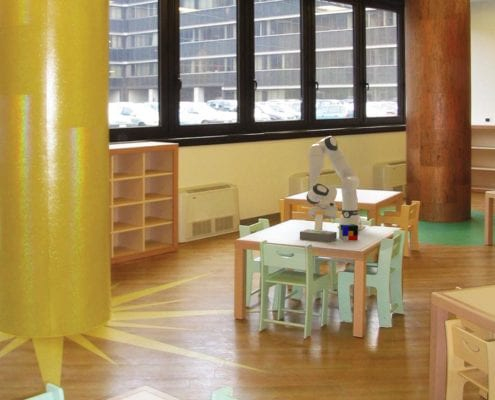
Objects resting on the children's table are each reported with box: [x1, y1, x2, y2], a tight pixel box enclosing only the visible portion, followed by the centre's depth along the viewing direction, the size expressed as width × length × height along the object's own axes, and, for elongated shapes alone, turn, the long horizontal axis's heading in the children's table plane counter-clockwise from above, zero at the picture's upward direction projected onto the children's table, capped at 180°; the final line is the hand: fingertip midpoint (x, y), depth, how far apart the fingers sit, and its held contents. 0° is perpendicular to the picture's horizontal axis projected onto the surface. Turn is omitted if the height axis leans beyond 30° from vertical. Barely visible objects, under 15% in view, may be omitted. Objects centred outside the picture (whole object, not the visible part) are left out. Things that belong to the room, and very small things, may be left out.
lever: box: [314, 211, 324, 231], centre depth 567 cm, size 3×6×13 cm, turn 59°
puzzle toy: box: [338, 223, 359, 242], centre depth 566 cm, size 10×10×10 cm
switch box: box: [299, 228, 338, 243], centre depth 567 cm, size 12×22×5 cm, turn 59°
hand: (319, 222), depth 568 cm, fingers closed, pressing on lever
